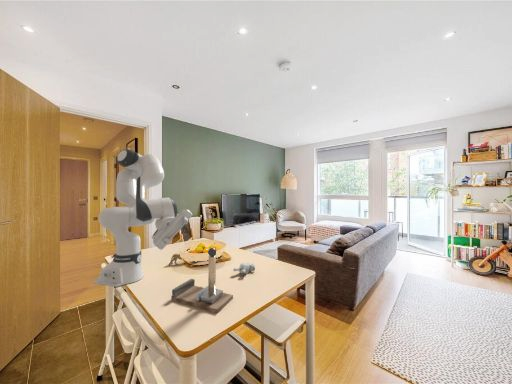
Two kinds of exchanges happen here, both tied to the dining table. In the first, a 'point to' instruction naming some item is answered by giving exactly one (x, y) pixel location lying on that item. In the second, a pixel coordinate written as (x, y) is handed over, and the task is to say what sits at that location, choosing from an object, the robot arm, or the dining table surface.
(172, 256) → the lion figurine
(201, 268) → the dining table surface
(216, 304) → the press base
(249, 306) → the dining table surface
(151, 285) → the dining table surface
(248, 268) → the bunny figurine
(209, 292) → the grey upright rod
